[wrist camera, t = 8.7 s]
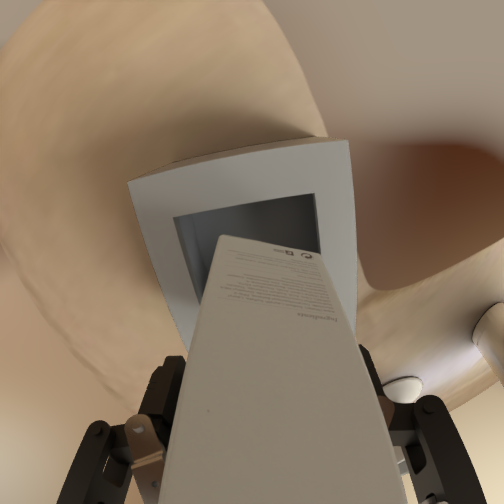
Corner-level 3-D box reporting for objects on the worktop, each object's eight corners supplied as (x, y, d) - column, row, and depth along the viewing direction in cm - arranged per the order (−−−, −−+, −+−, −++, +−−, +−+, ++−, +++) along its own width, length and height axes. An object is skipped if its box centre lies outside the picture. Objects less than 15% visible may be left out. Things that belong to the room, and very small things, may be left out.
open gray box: (315, 136, 24) (348, 139, 15) (331, 290, 31) (353, 351, 22) (171, 163, 25) (126, 182, 16) (211, 308, 32) (196, 371, 23)
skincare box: (219, 230, 15) (115, 570, 1) (326, 252, 15) (434, 549, 2) (202, 343, 18) (158, 559, 5) (287, 357, 19) (301, 568, 5)
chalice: (422, 401, 42) (444, 458, 28) (359, 424, 44) (373, 486, 31) (430, 361, 37) (464, 428, 23) (355, 389, 39) (375, 467, 25)
